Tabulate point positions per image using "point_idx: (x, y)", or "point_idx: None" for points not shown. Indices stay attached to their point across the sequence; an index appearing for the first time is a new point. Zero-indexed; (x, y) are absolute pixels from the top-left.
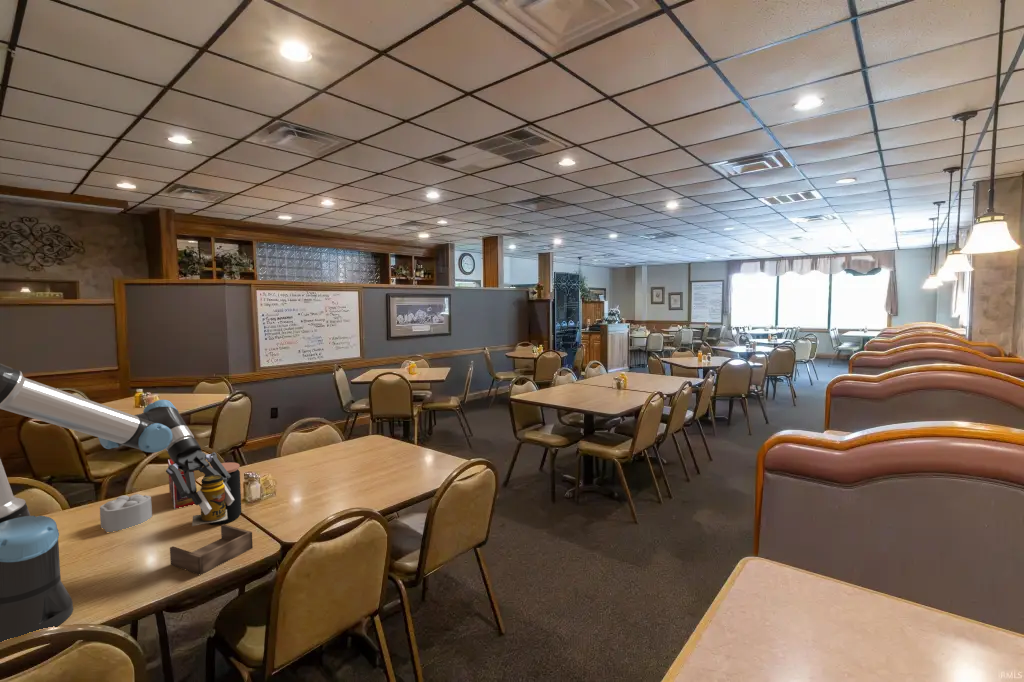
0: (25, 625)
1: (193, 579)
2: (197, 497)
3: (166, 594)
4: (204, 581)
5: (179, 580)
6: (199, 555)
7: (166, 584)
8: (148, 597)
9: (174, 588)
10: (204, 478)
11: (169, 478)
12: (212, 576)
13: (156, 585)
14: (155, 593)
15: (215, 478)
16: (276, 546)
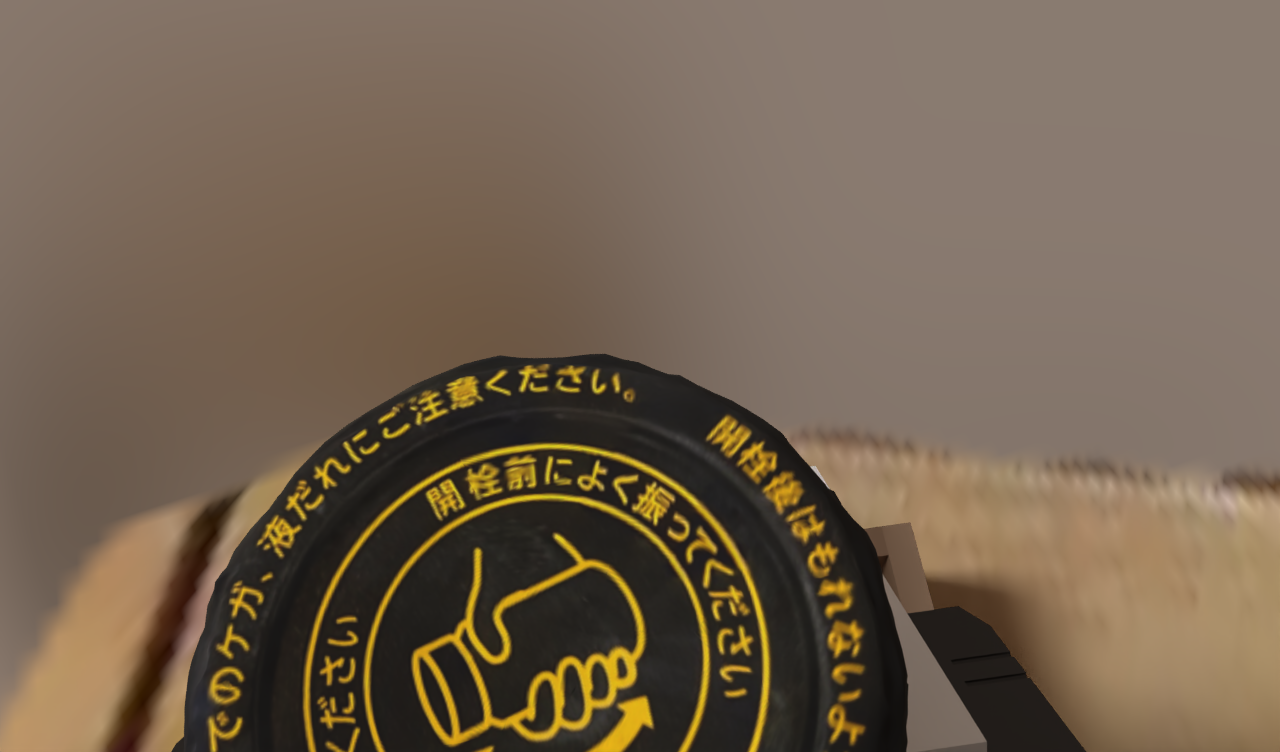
0: None
1: (935, 554)
2: (980, 685)
3: (1141, 512)
4: (890, 454)
5: (1018, 639)
6: (898, 558)
7: (1111, 668)
8: (1253, 586)
9: (1077, 547)
10: None
11: None
12: (823, 473)
13: (1178, 728)
14: (1203, 600)
15: (500, 519)
16: (284, 486)
